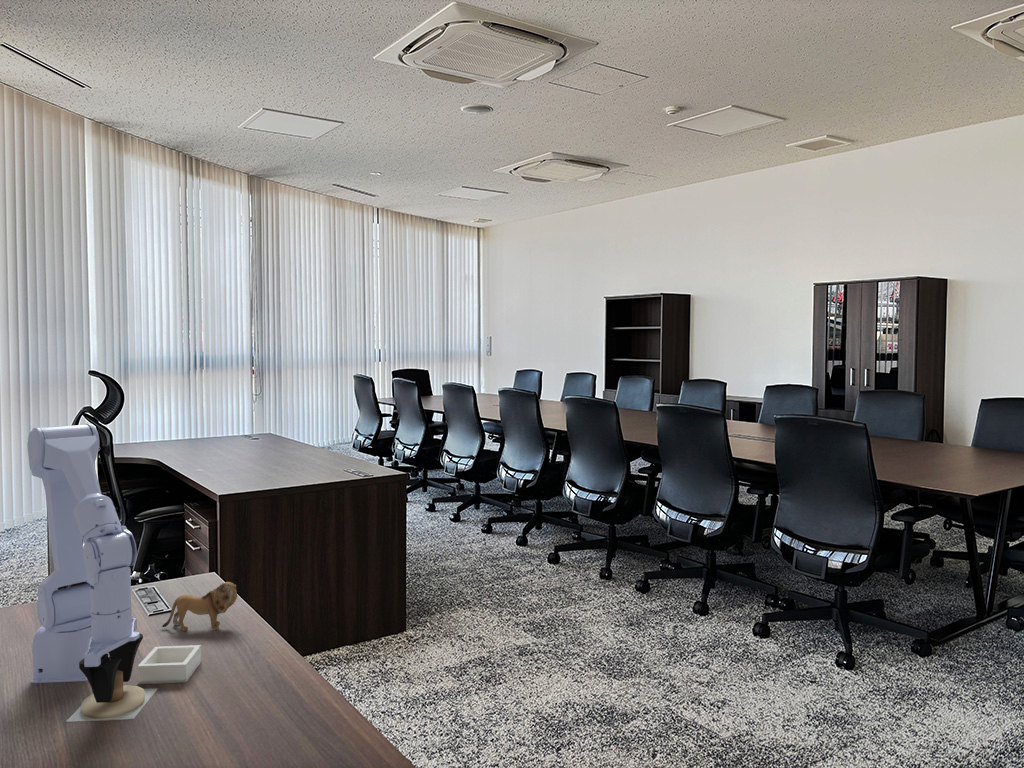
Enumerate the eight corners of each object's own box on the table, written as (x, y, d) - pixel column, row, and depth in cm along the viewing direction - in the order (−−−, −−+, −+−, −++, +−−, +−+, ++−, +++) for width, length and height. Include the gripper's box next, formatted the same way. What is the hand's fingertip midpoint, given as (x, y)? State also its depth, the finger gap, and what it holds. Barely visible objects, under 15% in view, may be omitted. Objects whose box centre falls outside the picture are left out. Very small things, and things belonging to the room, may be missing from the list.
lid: (70, 719, 114) (69, 688, 113) (97, 692, 123) (96, 663, 122) (131, 717, 115) (130, 686, 114) (153, 689, 124) (152, 661, 123)
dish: (137, 686, 126) (137, 666, 126) (155, 665, 134) (155, 646, 133) (186, 684, 127) (186, 664, 126) (201, 663, 134) (200, 645, 134)
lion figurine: (239, 619, 156) (238, 577, 155) (235, 629, 151) (235, 586, 150) (164, 625, 153) (163, 582, 152) (158, 635, 147) (157, 591, 147)
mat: (65, 724, 113) (65, 721, 113) (95, 693, 123) (95, 690, 123) (133, 721, 114) (133, 718, 114) (157, 690, 124) (157, 688, 124)
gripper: (117, 625, 111) (120, 712, 112) (154, 592, 125) (156, 669, 126) (68, 626, 110) (71, 714, 111) (111, 593, 125) (113, 671, 125)
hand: (113, 691), depth 119 cm, fingers open, 6 cm apart
